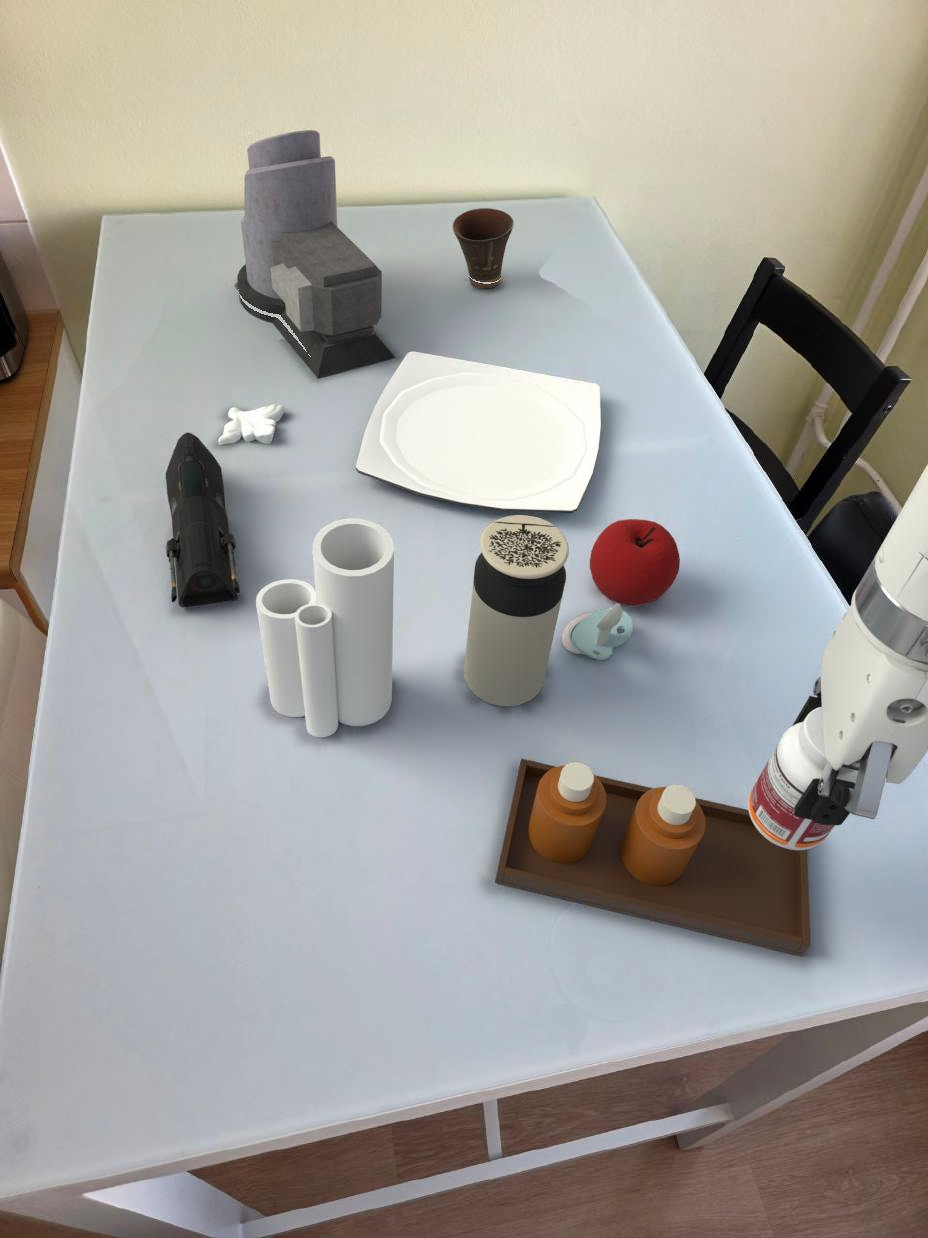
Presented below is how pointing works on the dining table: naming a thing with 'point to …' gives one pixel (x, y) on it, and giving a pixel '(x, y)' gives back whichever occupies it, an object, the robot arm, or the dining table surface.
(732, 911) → the tray
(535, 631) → the travel mug
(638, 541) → the apple
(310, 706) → the vase
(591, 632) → the pacifier
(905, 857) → the dining table surface
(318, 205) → the juicer
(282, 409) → the acanthus leaf ornament
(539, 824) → the amber bottle far
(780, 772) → the pill bottle
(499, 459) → the plate
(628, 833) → the amber bottle middle
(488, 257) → the cup
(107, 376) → the dining table surface
